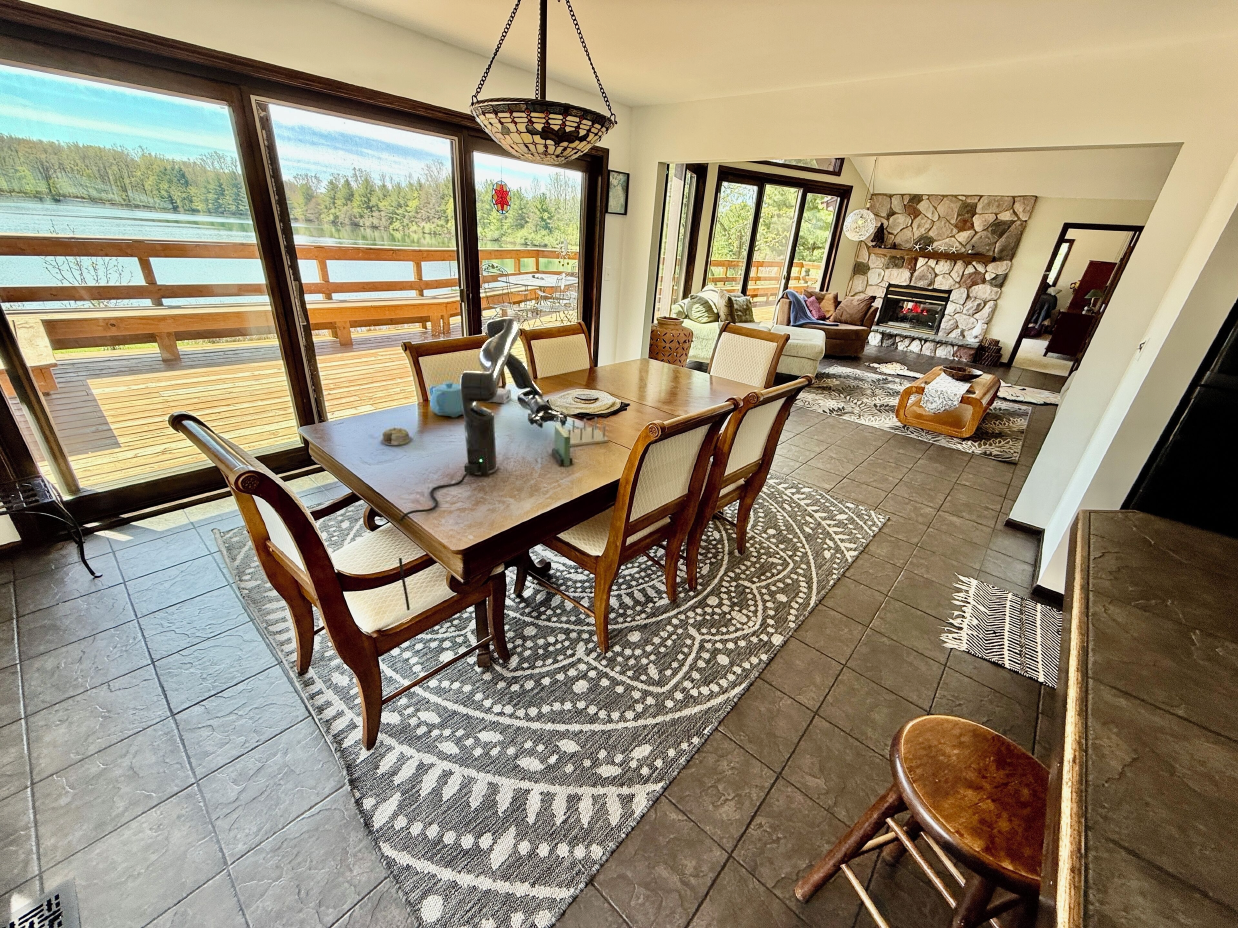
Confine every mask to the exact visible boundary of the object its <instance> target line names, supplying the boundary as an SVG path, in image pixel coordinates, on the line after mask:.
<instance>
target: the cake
mask: <svg viewBox="0 0 1238 928" xmlns="http://www.w3.org/2000/svg"><path fill="white" fill-rule="evenodd" d="M411 440H412V439H411V437H410V433H409V431H408V430H407V429H405V428H398V427H393V428H388V429H385V430H384V431H383V432H382V437H381V443H382V444H384V445H387V446H402V445H405V444H408V443H410V442H411Z"/></svg>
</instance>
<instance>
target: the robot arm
mask: <svg viewBox="0 0 1238 928" xmlns="http://www.w3.org/2000/svg"><path fill="white" fill-rule="evenodd" d="M485 331H486V335H487V338H488V340H487V341H485V343H484V344H483V345H482V347H481V349H480V351H479V353H478V363H479V365H480V367H481V369H482V370H483V371H474V370H473V371H472V370H466V371H463V372H462V373H461V374H460V377H459V384H460V393H461V399H462V407H463V414H462V415H463V423H464V433H465V434H464V435H465V446H466V459H467V462H465V464H464V466H463V467H464V472H465V473H464V475H463V476H462V477H461V479H460V480H458V481H457V482H454V483H450V484H442V485H437V486H434V487H432V488H431V490H430V491H429V496H430V497H431V499H432V500H433V501H434V505H433V506H431V507H430V508H425V509H423V508H422V509H414V510H410V511H407V512H406V513H404V514H402V516H400V518H399V519H398V521H399V522H402V521H403V520H404V519H405V518H406V517H407V516H409V515H411V514H418V513H426V512H432V511H434V510H436V509H437V507H438V506H439V501H438V500H437V498H436V497H435V495H434V494H433V492H434V491H436V490H438V489H443V488H448V487H453V486H458V485H460V484H462V483H463V482H464V481H465V479H466V477H467V476H468V475H470V476H480V477H481V476H482V477H488V476H489V475H492V474H494V473H496V472H497V470H498V464H497V463H498V462H497V447H496V446H497V445H496V429H495V428H496V427H495V426H496V425H495V414H494V412H493V410H490V409H489V408H486V407H484V406H482V405H481V404H479V403H492V402H491V401H493V400H494V399H495V397H496V395H497V391H498V388H500V387H499V386H500V383H501V378H502V374H503V371H504V369H505V367H506V369H507V370H508V372H509V374H510V376H511V378H512V381H513V383H514V385H515V387H516V388H517V389H518V390H523V391H521V392H519V393H518V395H517V399H516V400H517V403H518V404H519V405H520V406H521V408H522V409H525V410H526V411H530V412H529V413H527V421H528V423H529V424H530V425H531V426H534V424H535V426H537V427H538V428H540V429H543V427H544V423H545V424H546V423H548V422H553V423H560V425H561V424H562V425H563V427H565V426H566V424H567V422H568V415H567V413H565V412H564V411H563V410H559V412H556V411H554V409H553V407H552V406H551V405H550V403H548V402H547V401H546V400H545V399H543V398H544V395H543V392H542V391H541V389H540V388H539V387H538V385H536V383H535V382H534V381H533V378H532V377H531V375H530V372H529V369H528V368H527V365H526V364H525V363H524V362H523V361H522V360H521V359H519V358H518V357H517V356H515V355H514V354H513V353H512V352H511V351H512V349H513V347H514V346H515V344H516V343H517V341H518V339H519V333H520V332H519V331H520V330H519V325H518V323H517V321H516V320H515V319H514V318H512V317H510V316H507V317H500V318H496V319H492V320H489V321H487V323H486V324H485ZM398 563H399V570H400V571H399V572H400V576H401V575H404V577H403V578H401V582H402V587H403V594H404V598H405V605H406V610H407V611H410V609H411V608H410V601H409V595H408V590H407V585H406V579H405V574H404V573H405V572H404V567H403V558H402V557H398Z"/></svg>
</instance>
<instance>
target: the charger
mask: <svg viewBox="0 0 1238 928" xmlns="http://www.w3.org/2000/svg"><path fill="white" fill-rule="evenodd" d="M511 398H512V389H510V388H501V387H498V391H497V395H496V397H495V399H494V400H493V401H491V402H490V403H497V404H506V403H507V402H509V401H510V400H511Z"/></svg>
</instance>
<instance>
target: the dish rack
mask: <svg viewBox="0 0 1238 928" xmlns="http://www.w3.org/2000/svg"><path fill="white" fill-rule="evenodd" d="M575 423H576V420H575V419H572V429H571V428H568V429H564V426H563V425H562V424H561V423H560V426H561V427H562V428H563V429H564V430H565V431H566V432H567V434H568V435H569V436H570V447H575V446H584V445H586V446H587V445H594V444H600V443H609V442H610V441H609V438H608V437H607V436H606V425H605V424H604V425H603V427H602V429H603V430H602V431H603V432H601V431H600V430H599V429H598V417H594V426H591V427H587V418H583V427H580V428H576V427H575V426H576V425H575Z"/></svg>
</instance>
